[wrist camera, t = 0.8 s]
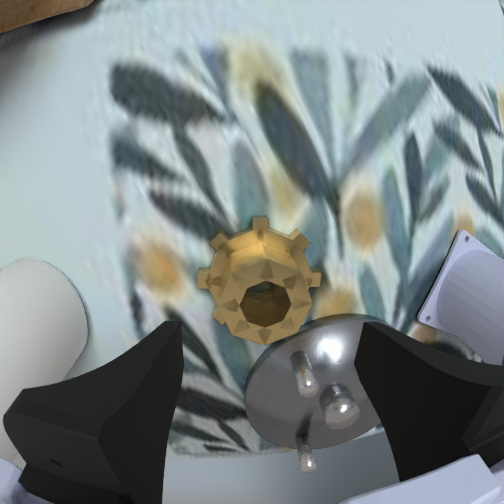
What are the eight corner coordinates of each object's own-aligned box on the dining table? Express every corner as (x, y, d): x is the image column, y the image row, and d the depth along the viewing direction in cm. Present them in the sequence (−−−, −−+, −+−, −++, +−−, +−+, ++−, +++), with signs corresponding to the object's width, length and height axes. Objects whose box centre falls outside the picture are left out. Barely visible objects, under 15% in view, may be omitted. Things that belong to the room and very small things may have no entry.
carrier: (432, 337, 22) (462, 366, 17) (350, 445, 25) (363, 479, 20) (293, 287, 19) (310, 321, 15) (219, 425, 23) (218, 467, 18)
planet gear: (332, 243, 19) (359, 265, 14) (285, 336, 20) (297, 376, 16) (226, 199, 18) (224, 209, 13) (186, 302, 19) (174, 338, 15)
